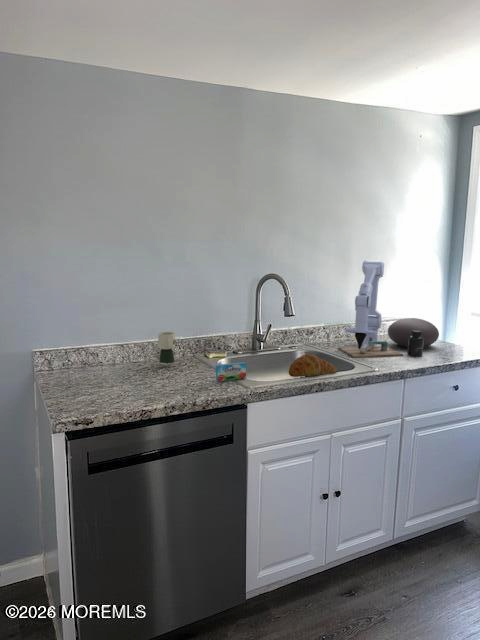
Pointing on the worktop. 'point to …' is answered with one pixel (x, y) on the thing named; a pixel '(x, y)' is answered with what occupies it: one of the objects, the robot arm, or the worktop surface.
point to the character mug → (166, 346)
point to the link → (366, 347)
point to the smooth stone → (404, 327)
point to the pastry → (310, 366)
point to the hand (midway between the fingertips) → (359, 348)
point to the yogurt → (230, 371)
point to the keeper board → (371, 351)
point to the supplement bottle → (415, 344)
